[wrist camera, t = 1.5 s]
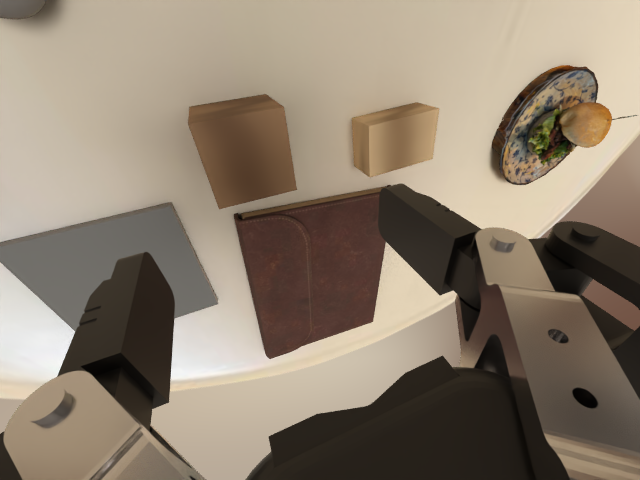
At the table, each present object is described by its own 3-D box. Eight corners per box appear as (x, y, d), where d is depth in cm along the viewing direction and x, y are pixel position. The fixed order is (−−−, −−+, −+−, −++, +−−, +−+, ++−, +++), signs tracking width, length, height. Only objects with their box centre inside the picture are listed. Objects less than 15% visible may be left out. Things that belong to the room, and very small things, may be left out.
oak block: (414, 102, 23) (439, 108, 21) (411, 148, 26) (432, 158, 23) (350, 117, 22) (369, 126, 20) (353, 164, 24) (369, 177, 22)
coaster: (170, 202, 20) (170, 206, 20) (217, 299, 27) (218, 303, 27) (-8, 244, 18) (-13, 249, 17) (92, 340, 25) (90, 345, 24)
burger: (469, 158, 29) (537, 186, 23) (556, 37, 25) (664, 35, 19) (519, 192, 35) (581, 221, 30) (594, 101, 31) (684, 114, 25)
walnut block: (265, 94, 19) (283, 107, 15) (278, 164, 22) (296, 189, 18) (189, 106, 18) (188, 123, 14) (214, 178, 21) (219, 209, 17)
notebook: (387, 182, 27) (399, 191, 26) (369, 312, 39) (376, 323, 37) (232, 211, 23) (235, 223, 22) (263, 346, 35) (267, 360, 33)
